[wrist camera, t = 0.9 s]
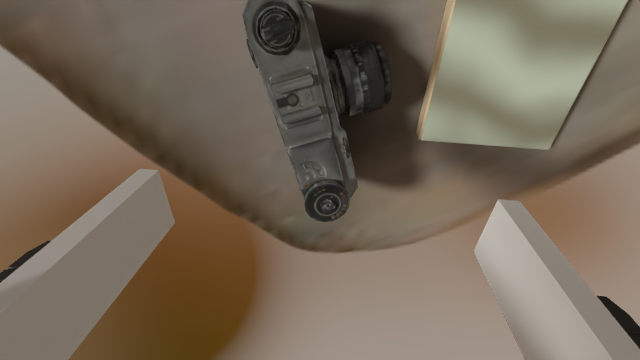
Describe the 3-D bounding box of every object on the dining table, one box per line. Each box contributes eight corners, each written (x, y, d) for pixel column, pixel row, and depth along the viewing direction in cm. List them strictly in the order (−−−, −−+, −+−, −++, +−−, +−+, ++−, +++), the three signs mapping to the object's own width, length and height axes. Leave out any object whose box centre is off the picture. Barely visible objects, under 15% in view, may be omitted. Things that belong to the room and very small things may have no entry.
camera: (384, 154, 32) (423, 206, 23) (305, 178, 32) (314, 238, 23) (350, -38, 23) (393, -71, 14) (241, -2, 23) (218, -13, 15)
